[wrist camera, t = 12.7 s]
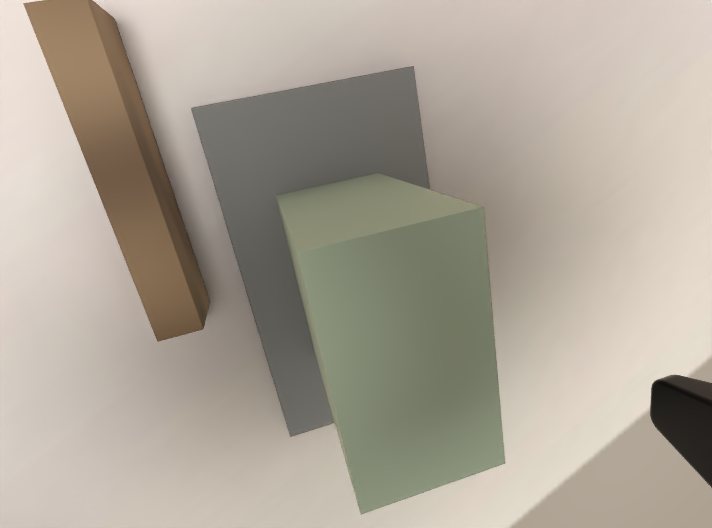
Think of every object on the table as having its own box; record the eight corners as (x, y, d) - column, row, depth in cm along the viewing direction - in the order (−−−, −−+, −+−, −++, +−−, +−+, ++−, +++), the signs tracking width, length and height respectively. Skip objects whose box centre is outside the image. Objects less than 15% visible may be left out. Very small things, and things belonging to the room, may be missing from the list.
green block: (378, 172, 16) (483, 206, 9) (404, 331, 19) (505, 463, 11) (275, 195, 16) (297, 252, 8) (316, 356, 18) (360, 514, 11)
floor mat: (451, 379, 21) (455, 383, 20) (289, 430, 19) (290, 436, 19) (409, 67, 16) (413, 66, 15) (192, 108, 15) (191, 108, 14)
